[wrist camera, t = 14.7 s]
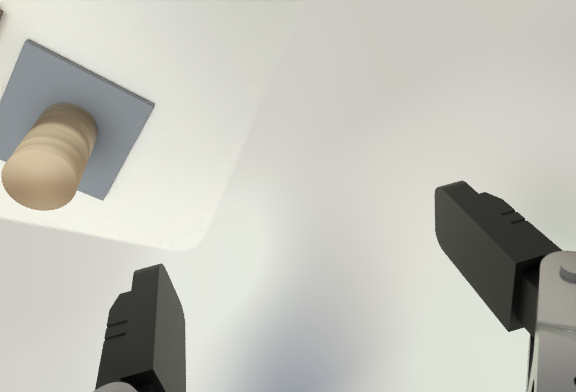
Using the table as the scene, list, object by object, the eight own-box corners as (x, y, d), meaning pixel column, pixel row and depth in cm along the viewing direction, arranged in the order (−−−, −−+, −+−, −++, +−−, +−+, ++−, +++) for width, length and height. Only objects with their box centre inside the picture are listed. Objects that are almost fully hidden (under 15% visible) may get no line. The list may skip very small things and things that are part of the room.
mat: (-17, 147, 37) (-21, 151, 37) (28, 39, 34) (24, 41, 33) (104, 196, 42) (103, 200, 41) (154, 104, 38) (153, 107, 38)
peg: (31, 105, 36) (-9, 154, 28) (91, 100, 36) (67, 147, 29) (47, 156, 38) (14, 214, 30) (102, 151, 39) (84, 206, 31)
